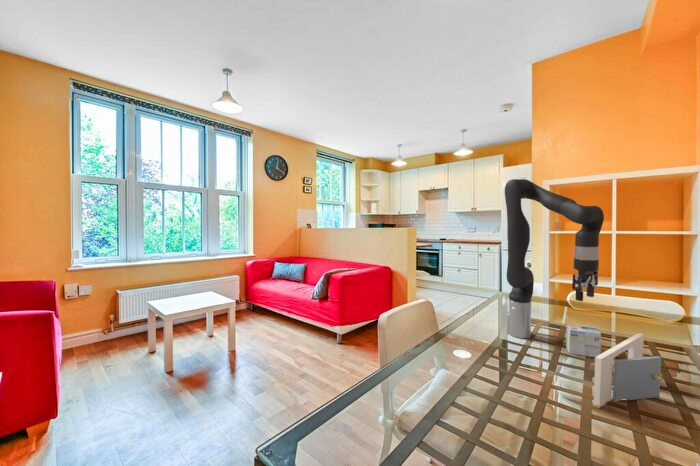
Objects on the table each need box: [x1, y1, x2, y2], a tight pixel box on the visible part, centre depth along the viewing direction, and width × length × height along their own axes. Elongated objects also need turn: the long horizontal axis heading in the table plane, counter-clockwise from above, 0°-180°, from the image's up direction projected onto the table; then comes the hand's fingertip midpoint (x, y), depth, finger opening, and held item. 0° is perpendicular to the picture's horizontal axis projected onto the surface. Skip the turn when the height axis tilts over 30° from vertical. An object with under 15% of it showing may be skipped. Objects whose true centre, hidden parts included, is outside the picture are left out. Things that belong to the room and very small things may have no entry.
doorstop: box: [588, 361, 614, 387], centre depth 101 cm, size 14×5×4 cm, turn 27°
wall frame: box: [593, 332, 645, 406], centre depth 97 cm, size 2×32×16 cm, turn 118°
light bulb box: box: [565, 323, 602, 358], centre depth 122 cm, size 11×7×11 cm, turn 65°
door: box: [612, 355, 664, 401], centre depth 92 cm, size 3×15×13 cm, turn 96°
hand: (584, 298), depth 113 cm, fingers open, 8 cm apart
